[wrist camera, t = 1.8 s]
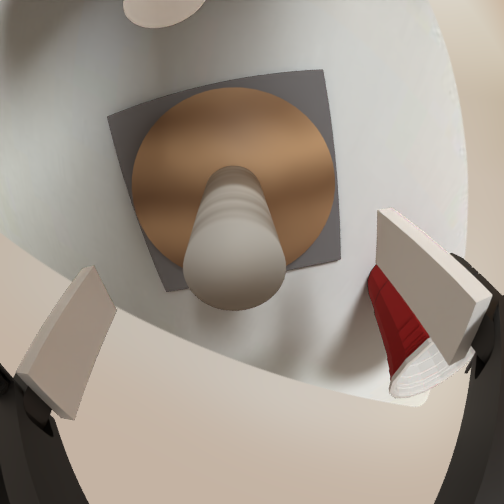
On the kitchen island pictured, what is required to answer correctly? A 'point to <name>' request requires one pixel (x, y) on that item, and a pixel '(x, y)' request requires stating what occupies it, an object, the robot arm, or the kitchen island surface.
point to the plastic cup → (407, 342)
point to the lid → (233, 192)
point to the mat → (279, 84)
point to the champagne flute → (159, 11)
